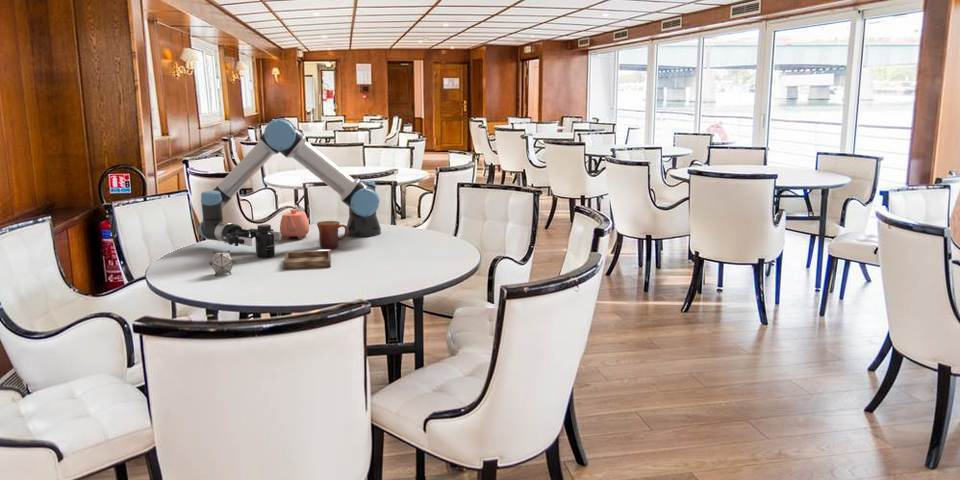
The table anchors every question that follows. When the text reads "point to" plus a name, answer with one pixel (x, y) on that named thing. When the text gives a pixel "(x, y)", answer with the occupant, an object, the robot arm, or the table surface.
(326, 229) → the mug
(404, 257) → the table surface
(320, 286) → the table surface
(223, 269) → the game die
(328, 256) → the tray
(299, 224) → the teapot
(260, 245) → the supplement bottle
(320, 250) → the pin
